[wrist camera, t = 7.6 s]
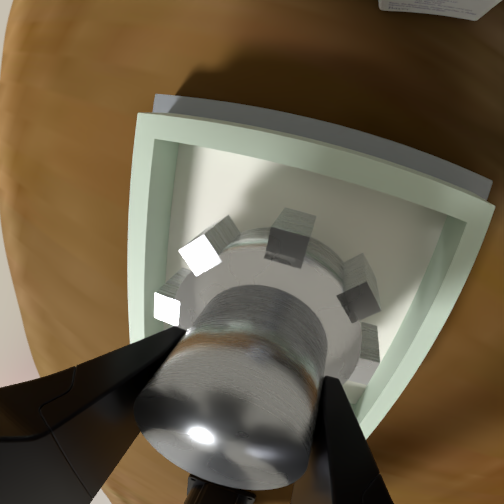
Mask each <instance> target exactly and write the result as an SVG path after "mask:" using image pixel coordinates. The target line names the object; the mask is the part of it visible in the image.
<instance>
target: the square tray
mask: <svg viewBox="0 0 504 504" xmlns="http://www.w3.org/2000/svg"><path fill="white" fill-rule="evenodd" d="M492 182H493V181H492V180H490V179H488V178H485V177H483V176H481V175H479V174H477V173H474V172H472V171H470V170H467V169H465V168H463V167H460V166H458V165H456V164H453V163H451V162H448V161H446V160H443V159H441V158H438V157H436V156H433V155H430V154H428V153H425V152H422V151H420V150H417V149H414V148H411V147H408V146H406V145H403V144H400V143H397V142H394V141H391V140H388V139H385V138H381V137H378V136H375V135H372V134H368V133H365V132H362V131H358V130H355V129H351V128H348V127H344V126H340V125H337V124H333V123H329V122H325V121H321V120H317V119H313V118H308V117H304V116H300V115H295V114H291V113H286V112H281V111H276V110H271V109H266V108H260V107H255V106H249V105H243V104H237V103H231V102H224V101H217V100H209V99H201V98H193V97H184V96H174V95H162V94H155V100H154V106H153V113H138V116H137V124H136V132H135V140H134V150H133V160H132V171H131V184H130V199H129V219H128V313H129V333H130V344H132V343H134V342H136V341H139V340H141V339H144V338H146V337H149V336H151V335H153V334H156V333H158V332H161V331H163V330H165V329H168V328H170V327H173V325H172V324H170V323H168V322H165V321H162V320H160V319H157V318H155V317H154V308H155V292H156V291H157V290H158V289H159V288H161V287H162V286H163V285H164V284H165V283H166V282H167V281H168V280H169V279H170V278H171V277H172V276H173V275H175V274H176V273H177V272H178V271H179V270H180V269H181V268H182V267H183V268H186V269H189V270H192V269H191V268H190V267H189V265H188V264H187V262H186V261H185V259H184V258H183V256H182V255H181V253H180V252H179V250H180V249H181V248H182V247H184V246H185V245H186V244H187V243H189V242H190V241H191V240H192V239H194V238H195V237H196V236H197V235H199V234H200V233H201V232H203V231H204V230H205V229H207V228H208V227H210V226H211V225H213V224H214V223H216V222H218V221H219V220H221V219H222V218H224V217H225V216H227V215H229V216H230V217H231V219H232V221H233V222H234V224H235V225H236V227H237V228H238V230H239V231H240V232H243V231H246V230H250V229H256V228H268V227H271V226H272V225H273V223H274V222H275V220H276V219H277V218H278V216H279V215H280V214H281V212H282V211H283V209H284V208H285V207H286V208H290V209H293V210H297V211H301V212H304V213H308V214H311V215H315V216H316V220H315V223H314V227H313V231H312V235H311V237H312V238H314V239H316V240H318V241H320V242H321V243H323V244H324V245H326V246H327V247H329V248H330V249H331V250H332V251H333V252H335V253H336V254H337V255H338V256H339V257H340V258H341V260H342V261H343V262H345V261H347V260H349V259H351V258H353V257H355V256H357V255H359V254H361V253H364V255H365V257H366V259H367V261H368V263H369V265H370V267H371V269H372V271H373V273H374V275H375V277H376V280H377V286H378V292H379V298H380V305H381V311H380V312H378V313H376V314H373V315H371V316H369V317H366V318H364V319H362V320H361V322H365V323H368V324H372V325H376V326H377V331H378V341H379V353H380V364H379V366H378V368H377V369H376V371H375V373H374V375H373V376H372V378H371V380H370V381H369V383H368V385H365V384H361V383H357V382H353V381H349V380H347V381H346V382H345V383H344V384H343V389H344V391H345V393H346V395H347V398H348V400H349V402H350V404H351V407H352V409H353V411H354V413H355V416H356V418H357V420H358V423H359V425H360V427H361V430H362V432H363V434H364V436H365V439H367V438H368V437H369V435H370V434H371V433H372V432H373V430H374V429H375V428H376V427H377V425H378V424H379V423H380V422H381V420H382V419H383V418H384V416H385V415H386V414H387V412H388V411H389V410H390V408H391V407H392V406H393V404H394V403H395V401H396V400H397V399H398V397H399V396H400V394H401V393H402V392H403V390H404V389H405V387H406V386H407V384H408V383H409V381H410V380H411V378H412V377H413V375H414V374H415V372H416V371H417V369H418V367H419V366H420V364H421V363H422V361H423V360H424V358H425V356H426V355H427V353H428V351H429V350H430V348H431V346H432V345H433V343H434V341H435V339H436V338H437V336H438V334H439V332H440V331H441V329H442V327H443V325H444V323H445V322H446V320H447V318H448V316H449V314H450V312H451V310H452V308H453V306H454V304H455V302H456V300H457V298H458V296H459V294H460V292H461V290H462V288H463V286H464V284H465V282H466V280H467V277H468V275H469V273H470V271H471V269H472V266H473V264H474V262H475V259H476V257H477V254H478V252H479V250H480V247H481V245H482V242H483V240H484V237H485V234H486V232H487V229H488V226H489V223H490V221H491V218H492V215H493V212H494V209H495V206H494V205H493V204H491V203H489V202H488V201H487V198H488V195H489V192H490V189H491V185H492Z"/></svg>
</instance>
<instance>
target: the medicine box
mask: <svg viewBox="0 0 504 504" xmlns="http://www.w3.org/2000/svg"><path fill="white" fill-rule="evenodd" d="M501 1H502V0H378V2H379V9H380V10H383V11H401V12H415V13H426V14H434V15H442V16H449V17H455V18H462V19H467V20H473V21H477V20H478V19H479V18H481V17H482V16H483V15H485V14H486V13H487V12H488V11H489V10H491V9H492V8H493V7H494V6H496V5H497V4H498V3H499V2H501Z"/></svg>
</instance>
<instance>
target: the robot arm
mask: <svg viewBox="0 0 504 504" xmlns="http://www.w3.org/2000/svg"><path fill="white" fill-rule="evenodd" d="M186 332H187V331H186V330H185V329H182V328H179V327H177V326H173V327H170V328H168V329H165V330H163V331H161V332H158V333H156V334H153V335H151V336H149V337H146V338H144V339H141V340H139V341H136V342H134V343H132V344H129V345H127V346H124V347H122V348H119V349H117V350H114V351H112V352H109V353H107V354H104V355H102V356H99V357H97V358H94V359H92V360H89V361H87V362H84V363H81V364H79V365H77V366H76V367H75V366H73V367H71V368H68V369H66V370H63V371H60V372H57V373H54V374H51V375H48V376H45V377H41V378H38V379H34V380H30V381H27V382H22V383H18V384H14V385H10V386H5V387H1V388H0V504H90V503H91V501H92V500H93V499H92V498H94V496H95V495H96V494H97V492H98V491H99V490H100V488H101V487H102V485H103V484H104V483H105V481H106V480H107V478H108V477H109V475H110V474H111V473H112V471H113V470H114V468H115V467H116V466H117V464H118V463H119V461H120V460H121V458H122V457H123V456H124V454H125V453H126V451H127V450H128V448H129V447H130V446H131V444H132V443H133V441H134V440H135V438H136V437H137V435H138V434H139V433H140V429H139V427H138V425H137V423H136V421H135V417H134V409H133V407H134V402H135V400H136V398H137V396H138V395H139V394H140V392H141V391H142V390H143V389H144V387H145V386H146V385H147V383H148V382H149V381H150V379H151V378H152V377H153V375H154V374H155V373H156V371H157V370H158V369H159V367H160V366H161V365H162V363H163V362H164V361H165V359H166V358H167V357H168V355H169V354H170V353H171V351H172V350H173V349H174V348H175V346H176V345H177V344H178V342H179V341H180V340H181V338H182V337H183V336H184V334H185V333H186ZM255 499H256V496H255V495H254V494H251V493H247V492H244V491H240V490H237V489H234V488H231V487H228V486H224V485H220V484H216V483H213V482H210V481H207V480H205V479H202V478H200V477H198V476H195V475H193V474H190V475H189V477H188V488H187V498H186V500H185V502H184V504H253V502H254V501H255ZM290 504H394V503H393V501H392V499H391V497H390V495H389V492H388V490H387V488H386V486H385V483H384V481H383V479H382V476H381V474H379V469H378V467H377V465H376V462H375V460H374V458H373V455H372V453H371V450H370V448H369V446H368V443H367V441H366V439H365V436H364V434H363V432H362V430H361V427H360V425H359V423H358V420H357V418H356V416H355V413H354V411H353V409H352V407H351V404H350V402H349V400H348V398H347V395H346V393H345V391H344V389H343V386H342V384H341V382H340V380H339V379H338V378H335V377H331V376H325V377H324V378H323V385H322V391H321V398H320V404H319V410H318V416H317V421H316V427H315V432H314V438H313V443H312V448H311V453H310V458H309V463H308V467H307V470H306V472H305V473H304V475H303V476H302V477H301V478H300V479H298V480H297V481H295V482H294V487H293V492H292V498H291V503H290Z"/></svg>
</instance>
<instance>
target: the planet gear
mask: <svg viewBox="0 0 504 504" xmlns="http://www.w3.org/2000/svg"><path fill="white" fill-rule="evenodd" d="M315 220H316V216H315V215H311V214H308V213H304V212H301V211H297V210H293V209H290V208H286V207H285V208H284V209H283V211H282V212H281V214H280V215H279V216H278V218H277V219H276V220H275V222H274V223H273V225H272V226H271V227H268V228H256V229H250V230H246V231H243V232H240V231H239V230H238V228H237V227H236V225H235V224H234V222H233V221H232V219H231V217H230V216H229V215H227V216H225V217H224V218H222V219H221V220H219V221H218V222H216V223H214V224H213V225H211V226H210V227H208V228H207V229H205V230H204V231H203V232H201V233H200V234H199V235H197V236H196V237H195V238H194V239H192V240H191V241H190V242H189V243H187V244H186V245H185V246H184V247H182V248H181V249H180V250H179V252H180V253H181V255H182V256H183V258H184V259H185V261H186V262H187V264H188V265H189V267H190V268H191V269H192V270H189V269H186V268H183V267H182V268H181V269H180V270H179V271H178V272H177V273H176V274H175V275H173V276H172V277H171V278H170V279H169V280H168V281H167V282H166V283H165V284H164V285H163V286H162V287H161V288H159V289H158V290H157V291H156V292H155V308H154V317H155V318H157V319H160V320H162V321H165V322H168V323H170V324H172V325H173V326H177V327H179V328H182V329H185V330H186V331H187V332H186V333H185V334H184V336H183V337H182V338H181V340H180V341H179V342H178V344H177V345H176V346H175V348H174V349H173V350H172V351H171V353H170V354H169V355H168V357H167V358H166V359H165V361H164V362H163V363H162V365H161V366H160V367H159V369H158V370H157V371H156V373H155V374H154V375H153V377H152V378H151V379H150V381H149V382H148V383H147V385H146V386H145V387H144V389H143V390H142V391H141V392H140V394H139V395H138V396H137V398H136V400H135V402H134V407H133V409H134V417H135V421H136V423H137V425H138V427H139V429H140V431H141V432H142V434H143V435H144V437H145V438H146V439H147V440H148V442H149V443H150V444H151V445H152V446H153V447H154V448H155V449H156V450H157V451H158V452H159V453H161V454H162V455H163V456H164V457H165V458H167V459H168V460H170V461H171V462H172V463H174V464H175V465H177V466H179V467H180V468H182V469H184V470H185V471H187V472H189V473H191V474H193V475H195V476H198V477H200V478H202V479H205V480H207V481H210V482H213V483H216V484H220V485H224V486H228V487H232V488H238V489H246V490H269V489H276V488H281V487H284V486H287V485H290V484H292V483H294V482H295V481H297V480H298V479H300V478H301V477H302V476H303V475H304V473H305V472H306V470H307V467H308V463H309V458H310V453H311V448H312V443H313V438H314V432H315V427H316V421H317V416H318V410H319V404H320V398H321V391H322V385H323V378H324V377H325V376H331V377H335V378H338V379H339V380H340V382H341V384H342V386H343V384H344V383H345V382H346V381H347V380H349V381H353V382H357V383H361V384H365V385H368V383H369V381H370V380H371V378H372V376H373V375H374V373H375V371H376V369H377V368H378V366H379V364H380V353H379V341H378V331H377V326H376V325H372V324H368V323H365V322H361V320H362V319H364V318H366V317H369V316H371V315H373V314H376V313H378V312H380V311H381V305H380V298H379V292H378V286H377V280H376V277H375V275H374V273H373V271H372V269H371V267H370V265H369V263H368V261H367V259H366V257H365V255H364V253H361V254H359V255H357V256H355V257H353V258H351V259H349V260H347V261H345V262H343V261H342V260H341V258H340V257H339V256H338V255H337V254H336V253H335V252H333V251H332V250H331V249H330V248H329V247H327V246H326V245H324V244H323V243H321V242H320V241H318V240H316V239H314V238H312V237H311V235H312V231H313V227H314V223H315Z"/></svg>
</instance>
